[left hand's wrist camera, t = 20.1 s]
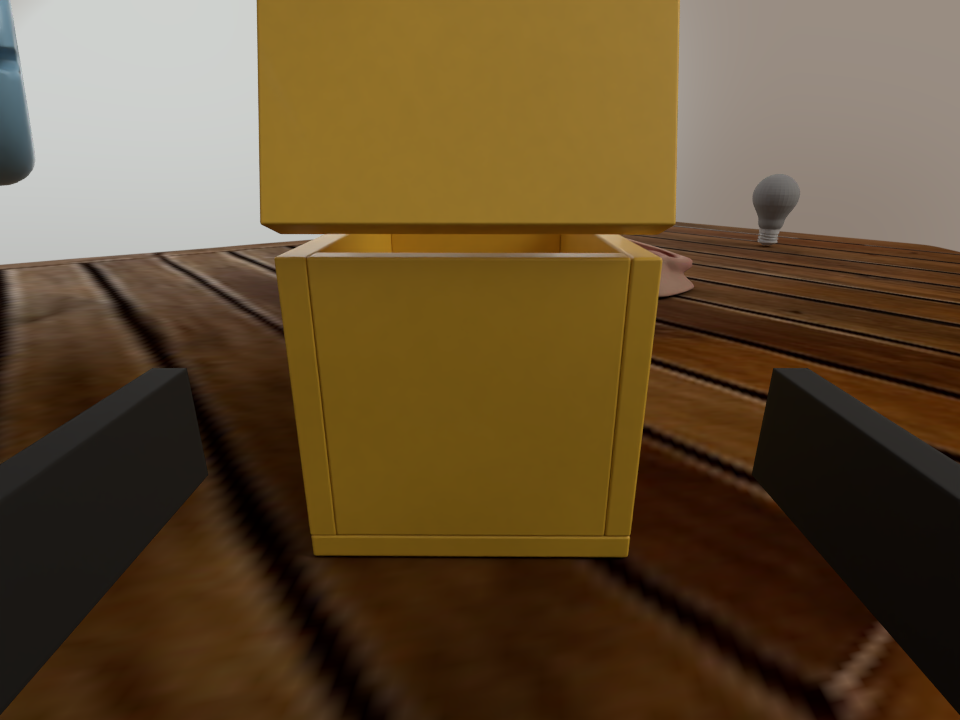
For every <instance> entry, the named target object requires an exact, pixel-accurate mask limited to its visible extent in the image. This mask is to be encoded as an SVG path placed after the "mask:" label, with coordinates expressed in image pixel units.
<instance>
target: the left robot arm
mask: <svg viewBox="0 0 960 720" xmlns="http://www.w3.org/2000/svg"><path fill="white" fill-rule="evenodd" d="M34 163H35V152H34V145H33V139H32V132H31V126H30V120H29V113H28V107H27V101H26V95H25V88H24V82H23V76H22V70H21V64H20V58H19V52H18V46H17V40H16V34H15V27H14V21H13V15H12V8H11V3H10V0H0V186H1V185H11V184H14V183H17V182H18V181H20V180H22V179H24V178H26V177H27V176H28V175H29V174H30V172H31V171H32V170H33V167H34ZM207 476H208V471H207V466H206V461H205V456H204V452H203V447H202V442H201V437H200V432H199V427H198V422H197V417H196V412H195V407H194V402H193V397H192V392H191V387H190V382H189V378H188V373H187V368H152V369H150V370H149V371H147V372H146V373H144V374H143V375H141V376H139V377H138V378H136V379H135V380H133V381H132V382H130V383H128V384H127V385H125V386H124V387H122V388H120V389H119V390H117V391H116V392H114V393H113V394H111V395H109V396H108V397H106V398H105V399H103V400H101V401H100V402H98V403H97V404H95V405H94V406H92V407H90V408H89V409H87V410H86V411H84V412H83V413H81V414H79V415H78V416H76V417H75V418H73V419H71V420H70V421H68V422H67V423H65V424H64V425H62V426H60V427H59V428H57V429H56V430H54V431H52V432H51V433H49V434H48V435H46V436H45V437H43V438H41V439H40V440H38V441H37V442H35V443H34V444H32V445H30V446H29V447H27V448H26V449H24V450H22V451H21V452H19V453H18V454H16V455H15V456H13V457H11V458H10V459H8V460H7V461H5V462H4V463H2V464H0V715H1V713H2V712H3V711H4V710H5V709H6V708H7V707H8V705H9V704H10V703H11V702H12V701H13V700H14V698H15V697H16V696H17V695H18V694H19V693H20V692H21V690H22V689H23V688H24V687H25V686H26V685H27V683H28V682H29V681H30V680H31V679H32V678H33V677H34V675H35V674H36V673H37V672H38V671H39V670H40V668H41V667H42V666H43V665H44V664H45V663H46V661H47V660H48V659H49V658H50V657H51V656H52V655H53V653H54V652H55V651H56V650H57V649H58V648H59V646H60V645H61V644H62V643H63V642H64V641H65V640H66V638H67V637H68V636H69V635H70V634H71V633H72V631H73V630H74V629H75V628H76V627H77V626H78V625H79V623H80V622H81V621H82V620H83V619H84V618H85V616H86V615H87V614H88V613H89V612H90V611H91V610H92V608H93V607H94V606H95V605H96V604H97V603H98V601H99V600H100V599H101V598H102V597H103V596H104V595H105V593H106V592H107V591H108V590H109V589H110V588H111V586H112V585H113V584H114V583H115V582H116V581H117V580H118V578H119V577H120V576H121V575H122V574H123V573H124V571H125V570H126V569H127V568H128V567H129V566H130V564H131V563H132V562H133V561H134V560H135V559H136V558H137V556H138V555H139V554H140V553H141V552H142V551H143V549H144V548H145V547H146V546H147V545H148V544H149V543H150V541H151V540H152V539H153V538H154V537H155V536H156V534H157V533H158V532H159V531H160V530H161V529H162V528H163V526H164V525H165V524H166V523H167V522H168V521H169V519H170V518H171V517H172V516H173V515H174V514H175V513H176V511H177V510H178V509H179V508H180V507H181V506H182V504H183V503H184V502H185V501H186V500H187V499H188V498H189V496H190V495H191V494H192V493H193V492H194V491H195V489H196V488H197V487H198V486H199V485H200V484H201V483H202V481H203V480H204V479H205V478H206V477H207ZM752 476H753V477H754V478H755V479H756V480H757V481H758V483H759V484H760V485H761V486H762V487H763V488H764V489H765V491H766V492H767V493H768V494H769V495H770V496H771V498H772V499H773V500H774V501H775V502H776V503H777V504H778V506H779V507H780V508H781V509H782V510H783V511H784V513H785V514H786V515H787V516H788V517H789V518H790V519H791V521H792V522H793V523H794V524H795V525H796V526H797V528H798V529H799V530H800V531H801V532H802V533H803V534H804V536H805V537H806V538H807V539H808V540H809V541H810V543H811V544H812V545H813V546H814V547H815V548H816V549H817V551H818V552H819V553H820V554H821V555H822V556H823V558H824V559H825V560H826V561H827V562H828V563H829V564H830V566H831V567H832V568H833V569H834V570H835V571H836V573H837V574H838V575H839V576H840V577H841V578H842V580H843V581H844V582H845V583H846V584H847V585H848V586H849V588H850V589H851V590H852V591H853V592H854V593H855V595H856V596H857V597H858V598H859V599H860V600H861V601H862V603H863V604H864V605H865V606H866V607H867V608H868V610H869V611H870V612H871V613H872V614H873V615H874V616H875V618H876V619H877V620H878V621H879V622H880V623H881V625H882V626H883V627H884V628H885V629H886V630H887V631H888V633H889V634H890V635H891V636H892V637H893V638H894V640H895V641H896V642H897V643H898V644H899V645H900V646H901V648H902V649H903V650H904V651H905V652H906V653H907V655H908V656H909V657H910V658H911V659H912V660H913V661H914V663H915V664H916V665H917V666H918V667H919V668H920V670H921V671H922V672H923V673H924V674H925V675H926V677H927V678H928V679H929V680H930V681H931V682H932V683H933V685H934V686H935V687H936V688H937V689H938V690H939V692H940V693H941V694H942V695H943V696H944V697H945V698H946V700H947V701H948V702H949V703H950V704H951V705H952V707H953V708H954V709H955V710H956V711H957V712H958V713H959V715H960V464H958V463H956V462H955V461H953V460H952V459H950V458H949V457H947V456H945V455H944V454H942V453H941V452H939V451H938V450H936V449H934V448H933V447H931V446H930V445H928V444H926V443H925V442H923V441H922V440H920V439H919V438H917V437H915V436H914V435H912V434H911V433H909V432H908V431H906V430H904V429H903V428H901V427H900V426H898V425H896V424H895V423H893V422H892V421H890V420H889V419H887V418H885V417H884V416H882V415H881V414H879V413H877V412H876V411H874V410H873V409H871V408H870V407H868V406H866V405H865V404H863V403H862V402H860V401H859V400H857V399H855V398H854V397H852V396H851V395H849V394H847V393H846V392H844V391H843V390H841V389H840V388H838V387H836V386H835V385H833V384H832V383H830V382H828V381H827V380H825V379H824V378H822V377H821V376H819V375H817V374H816V373H814V372H813V371H811V370H810V369H808V368H773V373H772V378H771V382H770V387H769V392H768V397H767V402H766V407H765V412H764V417H763V422H762V427H761V432H760V437H759V442H758V447H757V452H756V456H755V461H754V466H753V471H752Z"/></svg>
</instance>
